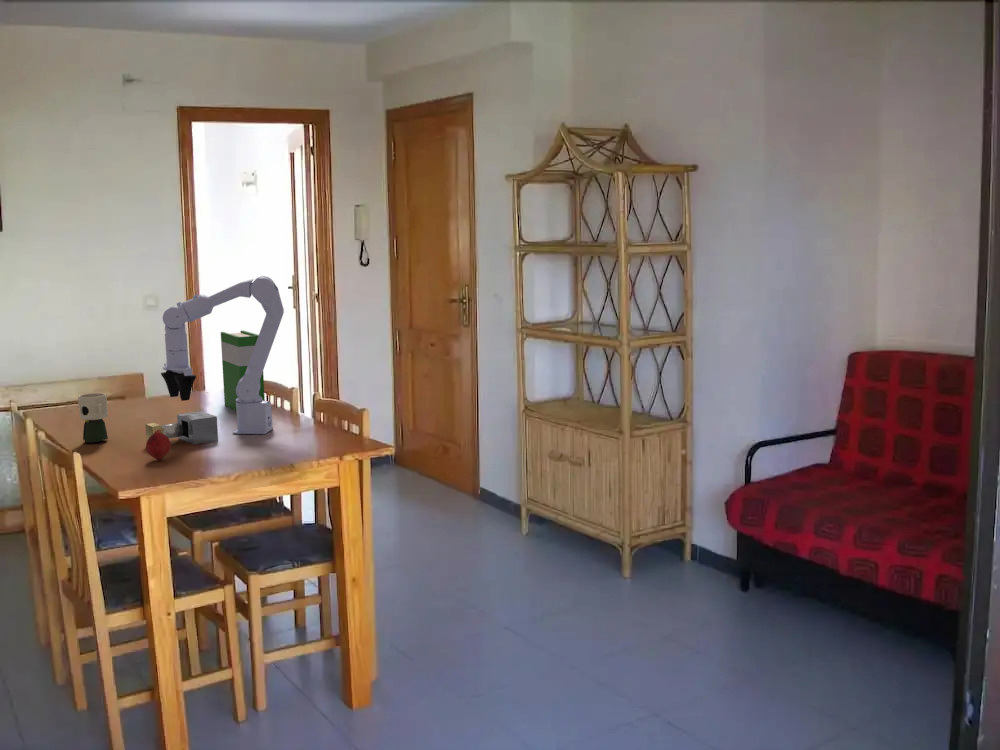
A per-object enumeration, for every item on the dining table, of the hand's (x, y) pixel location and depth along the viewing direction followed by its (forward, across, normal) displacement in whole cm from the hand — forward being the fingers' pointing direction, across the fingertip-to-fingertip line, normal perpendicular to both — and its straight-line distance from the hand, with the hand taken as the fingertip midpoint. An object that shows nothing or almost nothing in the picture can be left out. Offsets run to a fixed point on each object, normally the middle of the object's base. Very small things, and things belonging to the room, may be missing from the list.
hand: (179, 398), depth 273 cm
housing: (+10, +9, +1) cm, 14 cm away
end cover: (+9, +9, -8) cm, 15 cm away
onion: (+11, +25, -16) cm, 31 cm away
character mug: (+11, -8, -21) cm, 25 cm away
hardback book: (+11, -24, +31) cm, 41 cm away
